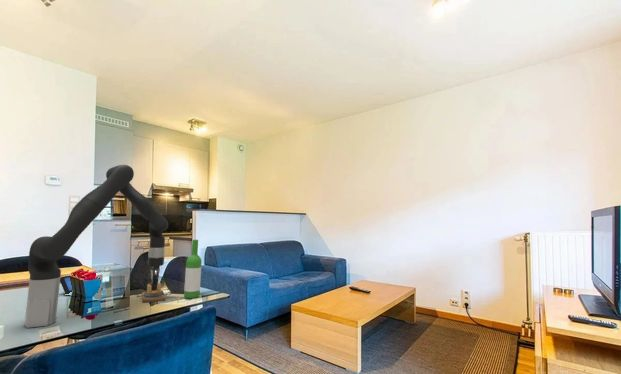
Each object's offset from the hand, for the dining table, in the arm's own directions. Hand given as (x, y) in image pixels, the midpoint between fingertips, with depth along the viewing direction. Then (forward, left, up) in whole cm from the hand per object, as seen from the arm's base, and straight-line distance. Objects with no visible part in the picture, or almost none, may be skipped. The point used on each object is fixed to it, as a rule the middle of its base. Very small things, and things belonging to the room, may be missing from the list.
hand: (153, 288), depth 159 cm
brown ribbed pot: (0, 0, -2) cm, 2 cm away
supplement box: (+7, +28, -5) cm, 29 cm away
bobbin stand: (0, 0, -5) cm, 5 cm away
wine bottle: (-5, -18, -5) cm, 19 cm away
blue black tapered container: (+26, +33, -5) cm, 43 cm away
